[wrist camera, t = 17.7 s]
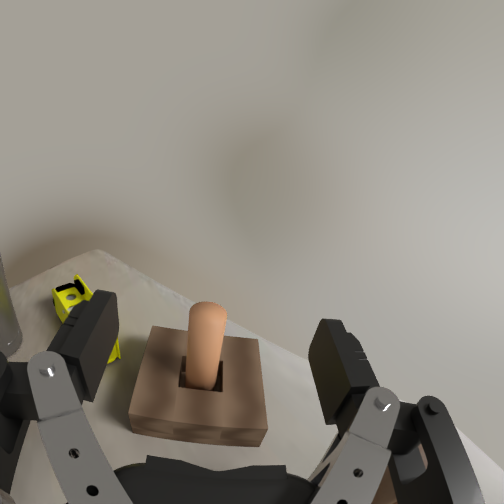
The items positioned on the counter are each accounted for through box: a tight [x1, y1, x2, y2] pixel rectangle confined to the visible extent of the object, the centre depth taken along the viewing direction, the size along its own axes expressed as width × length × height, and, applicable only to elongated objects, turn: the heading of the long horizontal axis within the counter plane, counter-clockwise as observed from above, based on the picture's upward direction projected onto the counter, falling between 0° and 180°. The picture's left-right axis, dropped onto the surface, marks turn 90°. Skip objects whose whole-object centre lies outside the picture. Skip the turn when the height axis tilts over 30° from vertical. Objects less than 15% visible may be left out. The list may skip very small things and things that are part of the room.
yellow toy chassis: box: [52, 274, 121, 364], centre depth 41 cm, size 16×6×8 cm, turn 51°
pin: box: [185, 302, 227, 391], centre depth 35 cm, size 4×4×14 cm
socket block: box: [128, 326, 268, 447], centre depth 37 cm, size 16×16×5 cm
